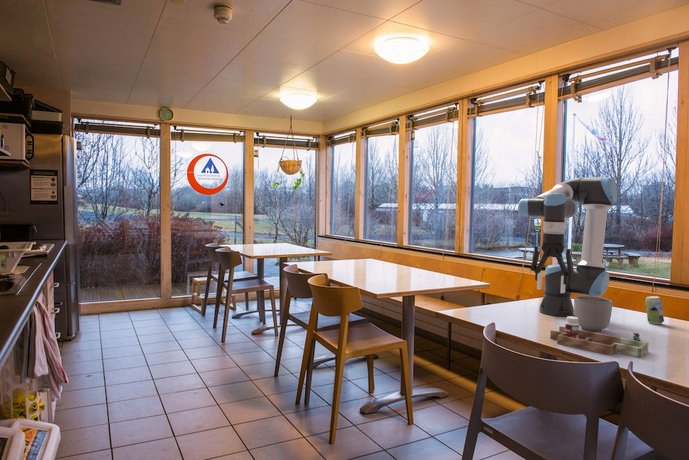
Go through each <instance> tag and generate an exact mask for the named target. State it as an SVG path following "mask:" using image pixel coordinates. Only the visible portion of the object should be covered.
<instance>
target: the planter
mask: <svg viewBox="0 0 689 460" xmlns="http://www.w3.org/2000/svg"><path fill="white" fill-rule="evenodd" d="M573 303H574V304H573V307H574V317H577V318H578V323H579V327H580V328H581V330H583V331H588V332H594V333H601V332H602V331H603V330H604V329H607V328H608V326H609V325H610V322H611V317H612V314H613V313H612V311H613V301H612V300H611V299H609V298H605V297H602V296H599V297H598V296H589V295H576V296H574V300H573Z"/></svg>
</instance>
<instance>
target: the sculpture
mask: <svg viewBox="0 0 689 460" xmlns="http://www.w3.org/2000/svg"><path fill="white" fill-rule="evenodd" d="M633 335H634V336H633V337H632V338H633V340H636V341H641V339H640V333H638V332H635V333H634V332H633Z"/></svg>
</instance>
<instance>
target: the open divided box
mask: <svg viewBox="0 0 689 460" xmlns="http://www.w3.org/2000/svg"><path fill="white" fill-rule="evenodd" d="M566 334H567V333H565V326H563V325H562V326H561V325H560V326H559V328H558V331H557V330H553V329H550V335H549V338H550V339H552V340H557V344H558V345H562V346H568V347H573V348H577V349H582V350H585V351H591V352H596V353H600V354H605V355H610V356H613V355H614V354H615V353H617V354H622V355H626V356H627V355H628V356H632V357H637V358H642V357H643V356H644V355H645V354H647V353H648V352H649V342H646V341H645V342H644V341H641V340H640V341H636V340H634V339H629V338H625V337H620V336H619V337H618V336H616V335H615V336H614V335H608V334H603V333H600V332H598V333H595V332H588V331H584V330H582V329H579V336H578V339H576V338H572V337H567V336H566Z"/></svg>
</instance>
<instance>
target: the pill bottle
mask: <svg viewBox="0 0 689 460" xmlns="http://www.w3.org/2000/svg"><path fill="white" fill-rule="evenodd" d="M565 319H566V321H565V322H564V324H565V325H564V327H565V333H567V334H566V336H567V337H572V338H576V339H579V338H578V336H579V330H580V326H579V323H578V318H577V317H575V316H566V318H565Z"/></svg>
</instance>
